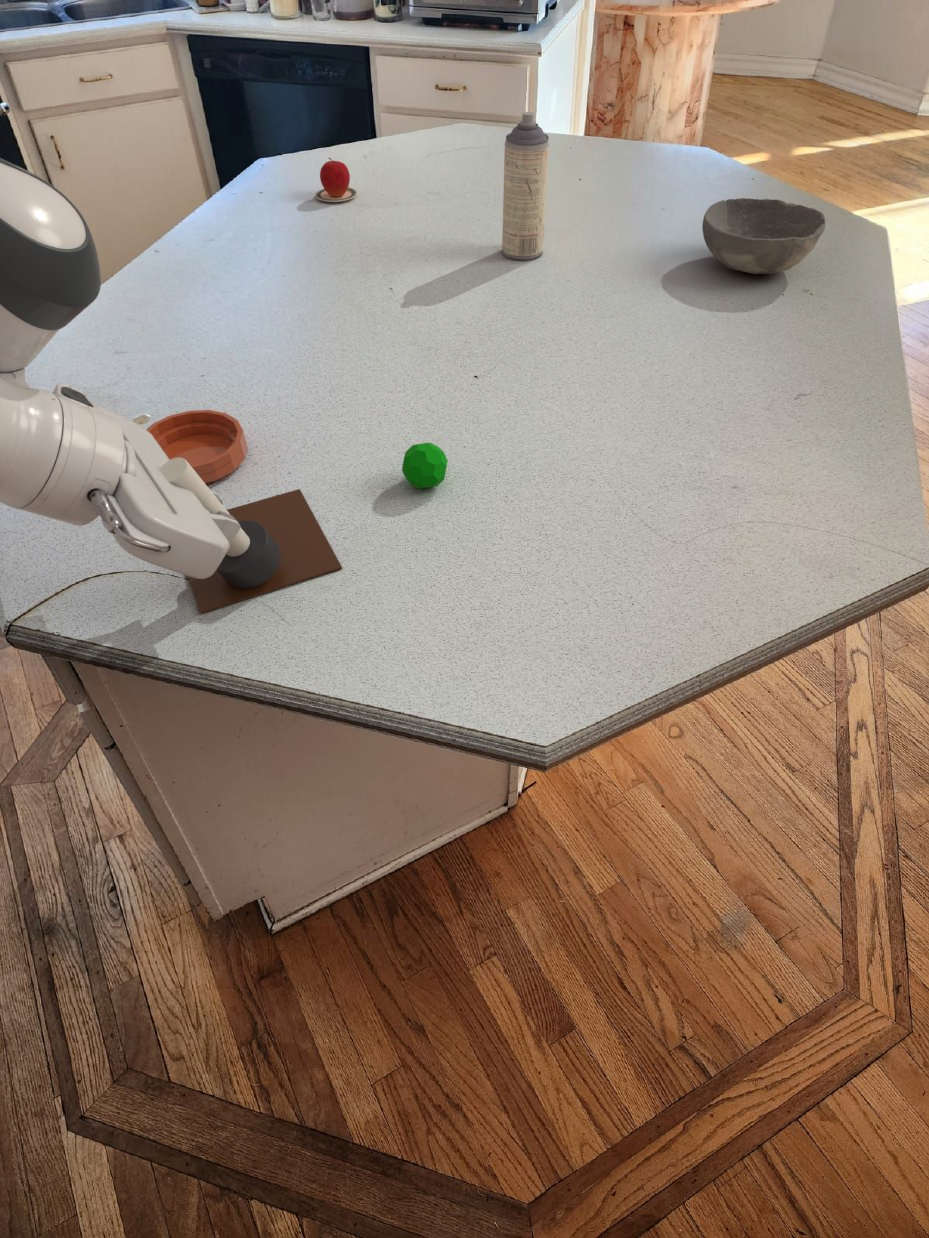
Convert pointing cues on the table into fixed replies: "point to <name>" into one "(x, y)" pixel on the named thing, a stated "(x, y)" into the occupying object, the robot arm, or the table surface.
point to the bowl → (761, 234)
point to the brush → (252, 545)
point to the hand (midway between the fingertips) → (225, 516)
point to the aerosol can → (524, 190)
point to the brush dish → (202, 441)
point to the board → (296, 539)
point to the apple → (335, 183)
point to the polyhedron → (424, 465)
